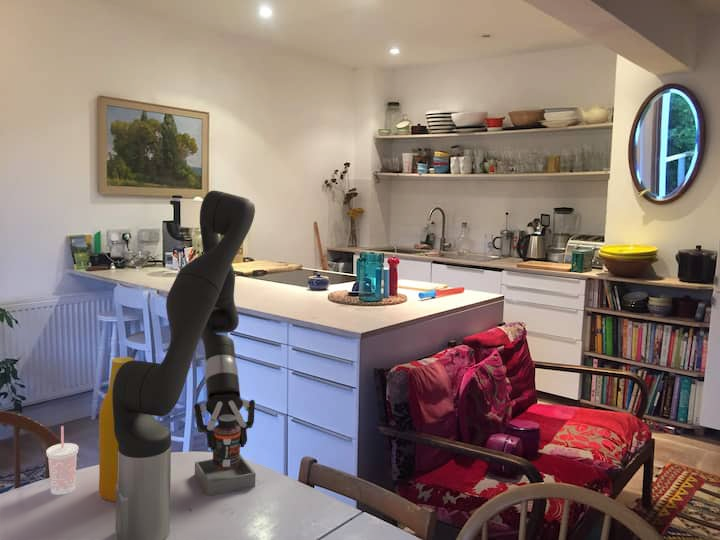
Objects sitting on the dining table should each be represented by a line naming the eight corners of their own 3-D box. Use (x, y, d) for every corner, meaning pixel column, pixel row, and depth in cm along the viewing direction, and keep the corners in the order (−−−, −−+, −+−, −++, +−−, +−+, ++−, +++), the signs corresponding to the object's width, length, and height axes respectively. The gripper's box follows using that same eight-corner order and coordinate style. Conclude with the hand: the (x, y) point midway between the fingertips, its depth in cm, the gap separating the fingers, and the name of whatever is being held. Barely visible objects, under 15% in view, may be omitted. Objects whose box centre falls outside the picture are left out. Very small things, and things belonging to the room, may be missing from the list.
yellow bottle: (93, 487, 128) (93, 356, 124) (138, 477, 134) (138, 351, 130) (105, 507, 121) (105, 368, 117) (151, 495, 127) (153, 362, 123)
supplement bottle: (233, 473, 131) (234, 424, 129) (207, 469, 132) (208, 420, 130) (243, 461, 137) (245, 414, 135) (219, 457, 138) (220, 410, 136)
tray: (208, 496, 127) (208, 482, 127) (194, 474, 136) (194, 462, 136) (255, 486, 133) (255, 473, 132) (239, 465, 142) (239, 453, 141)
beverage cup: (40, 491, 126) (39, 427, 124) (66, 479, 131) (65, 418, 129) (59, 499, 123) (58, 434, 121) (85, 487, 128) (84, 424, 126)
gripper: (191, 372, 136) (195, 444, 127) (254, 369, 141) (262, 438, 132) (189, 387, 142) (193, 456, 132) (250, 383, 147) (257, 450, 137)
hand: (227, 447), depth 132 cm, fingers closed on supplement bottle, 6 cm apart
